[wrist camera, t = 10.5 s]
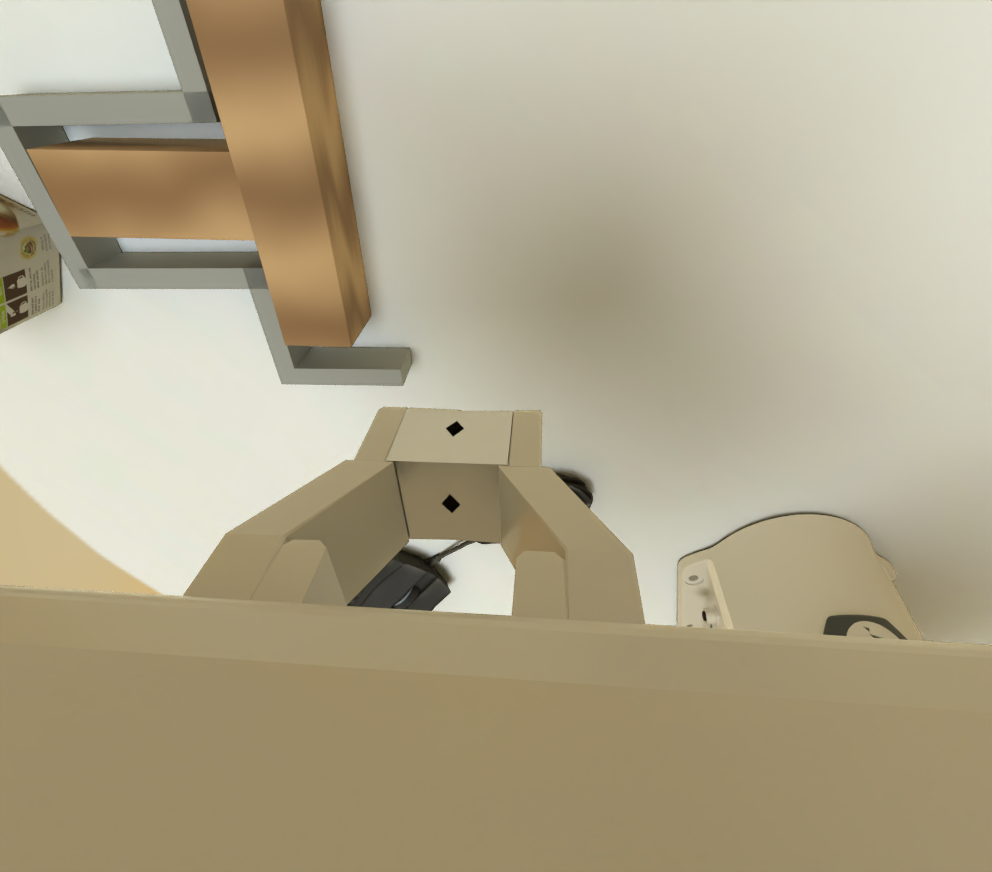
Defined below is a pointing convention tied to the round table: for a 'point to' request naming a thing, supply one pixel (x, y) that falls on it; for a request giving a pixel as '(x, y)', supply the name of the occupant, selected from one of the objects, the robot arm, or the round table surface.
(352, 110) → the round table surface
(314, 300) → the T block
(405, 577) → the computer mouse
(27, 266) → the coffee box
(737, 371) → the round table surface
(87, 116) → the T bay
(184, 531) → the round table surface
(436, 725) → the robot arm
